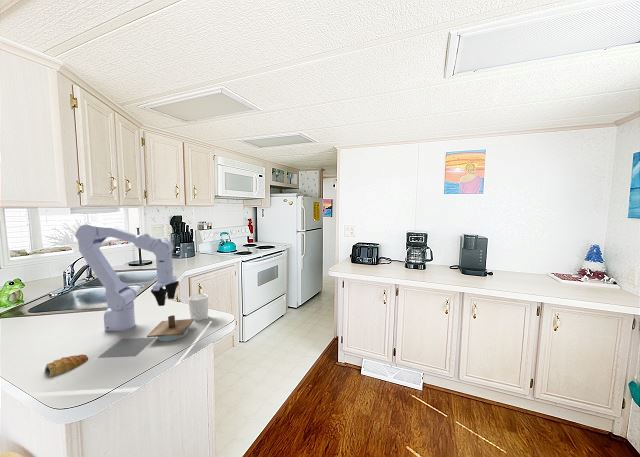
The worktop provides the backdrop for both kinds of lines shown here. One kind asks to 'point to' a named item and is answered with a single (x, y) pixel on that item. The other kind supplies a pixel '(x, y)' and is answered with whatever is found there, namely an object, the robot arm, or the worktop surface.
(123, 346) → the mat
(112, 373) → the worktop surface
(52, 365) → the pastry
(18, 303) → the worktop surface
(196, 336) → the worktop surface
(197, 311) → the white cup
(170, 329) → the lid
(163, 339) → the bowl
